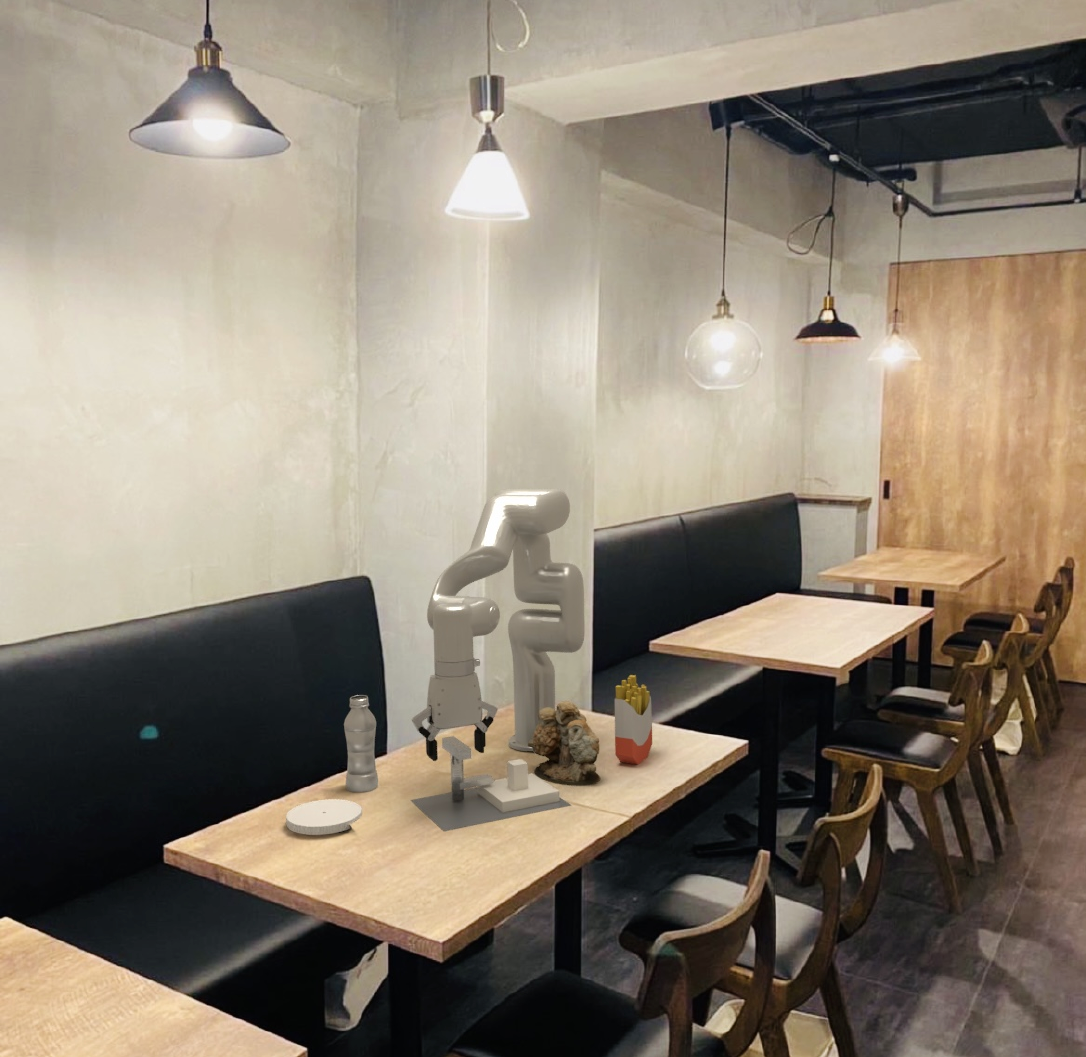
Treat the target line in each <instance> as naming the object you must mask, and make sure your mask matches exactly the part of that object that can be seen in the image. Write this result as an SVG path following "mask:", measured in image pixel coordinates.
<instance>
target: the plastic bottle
mask: <svg viewBox="0 0 1086 1057" xmlns="http://www.w3.org/2000/svg"><path fill="white" fill-rule="evenodd" d="M368 696H369V695H366V694H365V695H364V694H359V695H358V694H357V695H354V696H353V695H352V696H351V697H350V698H349V709H350V711H349V712H348V714H347V715H346V717H345V719H344V723H343V726H344V728H343V729H344V734H345V739H346V749H347V770H346V776H345V788H346V790H347V791H348V792H350V793H355V794H356V793H367V792H371V791H374V790H376V789H377V788H378V786H379V785H378V784H379V778H378V776H379V775H378V771H377V766H376V757H375V741H376V740H375V739H376V738H375V737H376V731H377V730H376V729H377V728H376V727H377V721H376V720H377V719H376V718H375V715H374V714H373V713H372V711H371V710H370V709H369V706H370V703H369V697H368Z"/></svg>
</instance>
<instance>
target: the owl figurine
mask: <svg viewBox="0 0 1086 1057" xmlns="http://www.w3.org/2000/svg"><path fill="white" fill-rule="evenodd" d="M538 717H539V718H538V720H539V724H538V725H537V727H536V731H535V732H534V735H533V739H534V740H533V741H530V742H528V746H529V747H532V748H533V751H534V752H533V753H534V754H536V755H537V756H542V757H545V758H547V759H546V761H543V762H540V763H539V764H538V766H536V768H535V769H534V772H533V774H534V775H536V776H537V777H539V778H540V779H542V780H543V781H545V782H548V783H552V784H556V785H561V786H562V785H563V786H569V787H571V786H572V787H578V786H579V787H582V786H583V787H585V786H592V785H596V784H598V783H599V782H601V777H600V775H599V774H598V773H597V766H596V765H595V764H596V762H597V759H598V755H599V754H600V738H599V737H598V735H597V734H596V733H594V732H593V730H592V728H591V727H590V725H589V724H588V723H587V720H588V719H587V717H586V716H585V715H584V714H583V713H581V711H580V710H579V708H578V706H577V705H576V704H575V703H574V702H572V701H570V700H564V701H561V702H559V703H558V704H557V705H556V708H555V710H554V709H553V708H548V707H546V708H543V709H541V710H540V711H539V714H538Z"/></svg>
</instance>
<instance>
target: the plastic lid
mask: <svg viewBox="0 0 1086 1057" xmlns="http://www.w3.org/2000/svg"><path fill="white" fill-rule="evenodd" d="M362 816H363V808H362V806H361V805H360V804H359V803H357V802H355V801H352V800H346V799H338V798H336V799H334V798H330V799H320V800H313V801H308V802H304V803H302V804H299V805H296V806H294V807H293V808H291V809H290V810H289V811H287V813H286V814H285V823H286V825H285V826H286V828H287V829H289V831H291V832H294V833H296V834H300V835H307V836H308V835H309V836H310V835H313V836H315V835H316V836H318V835H319V836H321V835H329V834H331V835H332V834H336V833H339V832H341V833H342V832H343V831H347V830H351V829H352V828H353V827H352V825H351V824H354V823H356V822H357V821H358V820H359V819H361V817H362Z"/></svg>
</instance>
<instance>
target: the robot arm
mask: <svg viewBox="0 0 1086 1057" xmlns="http://www.w3.org/2000/svg"><path fill="white" fill-rule="evenodd" d="M570 512H571V504H570V499H569V497H568V495H567V493H565V492H564V491H563V490H561V489H559V488H506V489H502V490H499V491H497V492H496V493H495V494H494V496H492V497H490V498H489V499H488V500H487V501H486V502H485V504H484V505H483V509H482V512H481V513H480V514H481V515H480V518H479V521H478V522H477V523H478V524H477V527H476V529H475V533H474V535H473V538H472V541H471V544H470V547H469V549H468V551H466V552H465V553H464V554H462V555H460V556H459V557H458V558H456V560H455V561H453V562H452V563H451V564H450V565H448V567H446V569H444V570H443V572H442V573H441V574H440V575H439V576H438V578H437V580H436V582H435V585H434V588H433V589H432V590H433V591H432V593H431V595H430V598H429V602H428V604H427V606H428V607H427V611H426V618H427V624H428V626H429V627H430V629H431V630H432V631H433V658H434V659H433V660H434V662H433V663H434V665H433V666H434V674H432V675H430V676H429V681H428V688H427V699H426V708H424V709H423V710H422V711H420V712H419V713H418V714H416V715H415V716H413V717H412V718H411V722H412V723H413V725H414V727H415V729H416V731H417V732H418V733H420V735H421V736H423V737H424V738H425V748H426V749H425V750H426V751H425V752H426V756H428V758H429V759H430V760H432V761H434V762H436V761H438V740H436V736H438V734H439V733H440V731H441V730H448V729H457V728H462V727H468V726H469V727H470V726H475V729H474V731H473V736H474V738H473V739H474V740H473V741H474V744H473V746H474V750H475V751H477V752H478V753H480V754H483V753H485V748H486V743H487V740H486V733H487V732H488V729H489V728H490V726H491V724H493V723H494V721H495V720H494V719H495V717H496V714H497V712H498V707H497V706H495V705H492V704H490V703H489V702H488V703H487V702H485V701H483V700H482V694H481V693H482V692H481V686H480V682H479V677H478V673H477V672H476V671H475V670H476V667H479V666H480V665H481V660H480V659H479V658H475V657H474V637H482V636H487V635H489V634H491V633H493V632H494V630H495V629H496V628H497V626H498V625H499V622H500V617H501V612H500V608H499V606H498V604H497V603H496V602H495V601H494V600H492V599H491V598H487V597H480V596H467V595H466V596H465V595H463V596H462V595H457V594H458V593H459V592H460V591H462V589H464V588H465V587H467V586H468V585H471V584H472V583H474V582H478V581H480V580H482V579H485V578H488V577H490V576H492V575H495V574H497V573H498V574H499V573H500V572H502V571H503V570H505V569H506V568H507V566H508V564H509V562H510V559H511V556H512V555H513V556H512V558H513V559H512V560H513V561H512V563H513V564H512V566H513V588H514V594H515V597H516V599H517V600H518V601H520V602H522V603H526V604H536V605H554V606H555V605H556V606H559V610H558V609H546V608H545V609H543V608H524V609H519V610H517V611H515V612H514V613H512V615H511V616H510V618H509V620H508V624H507V633H508V638H509V644H510V647H511V655H512V668H513V669H512V670H513V671H512V672H513V673H512V674H513V704H514V705H513V714H514V716H513V717H514V735H511V736H510V737H509V738H508V746H509V748H511V749H514V750H517V751H520V750H521V751H520V752H527V751H533V748H532V747H529V746H528V742H530V741H533V740H534V739H533V735H534V732H535V731H536V727H537V725H538V724H539V720H538V718H539V717H538V714H539V711H540V710H541V709H543V708H546V707H548V708H553V709H554V710H556V673H555V666H554V664H553V661H552V660H551V658H550V656H549V655H548V654H547V652H548V653H549V652H550V653H565V654H566V653H567V654H568V653H569V654H570V653H571V654H572V653H577V652H578V651H579V650H580V649H581V648H582V646H583V644H584V639H585V589H584V584H585V583H584V579H583V578H584V577H583V575H582V571H581V570H580V569H579V567H578V566H577V565H575V564H573V563H569V562H553V561H552V560H551V559H552V558H551V541H550V538H549V535H548V534H549V533H552V532H554V531H556V530H558V529H560V528H562V527H563V526H564V525H565V524H566V523H567V521H568V519H569V516H570ZM483 710H485V711H487V713H486V715H485V716H484V717H483ZM425 720H427V721H426V722H427V724H428V726H427V728H425V727H424V724H423V722H424V721H425Z"/></svg>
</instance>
